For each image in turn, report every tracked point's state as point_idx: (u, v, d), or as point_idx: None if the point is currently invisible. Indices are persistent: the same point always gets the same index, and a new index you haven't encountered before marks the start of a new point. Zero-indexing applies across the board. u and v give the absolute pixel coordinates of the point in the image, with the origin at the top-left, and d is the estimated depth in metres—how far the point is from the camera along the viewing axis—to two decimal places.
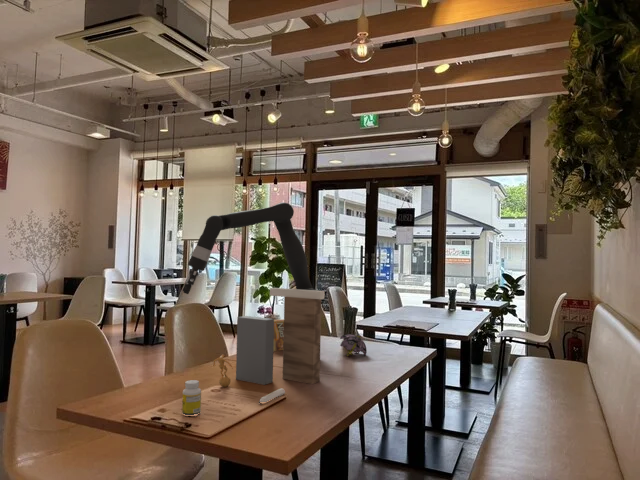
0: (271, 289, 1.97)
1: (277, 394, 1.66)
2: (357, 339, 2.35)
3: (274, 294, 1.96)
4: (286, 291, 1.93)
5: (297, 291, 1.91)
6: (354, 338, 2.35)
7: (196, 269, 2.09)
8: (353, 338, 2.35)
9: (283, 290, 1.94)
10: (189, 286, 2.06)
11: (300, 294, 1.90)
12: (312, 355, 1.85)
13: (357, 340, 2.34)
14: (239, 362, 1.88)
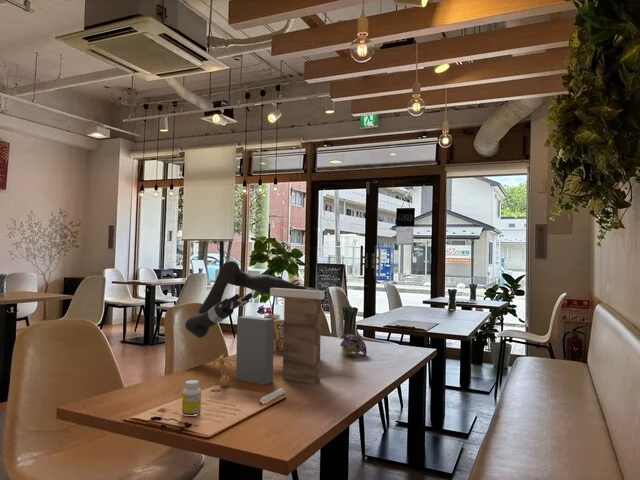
0: (271, 289, 1.97)
1: (277, 394, 1.65)
2: (357, 339, 2.35)
3: (274, 294, 1.96)
4: (286, 291, 1.93)
5: (297, 291, 1.91)
6: (354, 338, 2.35)
7: None
8: (353, 338, 2.35)
9: (283, 290, 1.94)
10: (231, 299, 2.07)
11: (300, 294, 1.90)
12: (312, 355, 1.85)
13: (357, 340, 2.34)
14: (239, 362, 1.88)
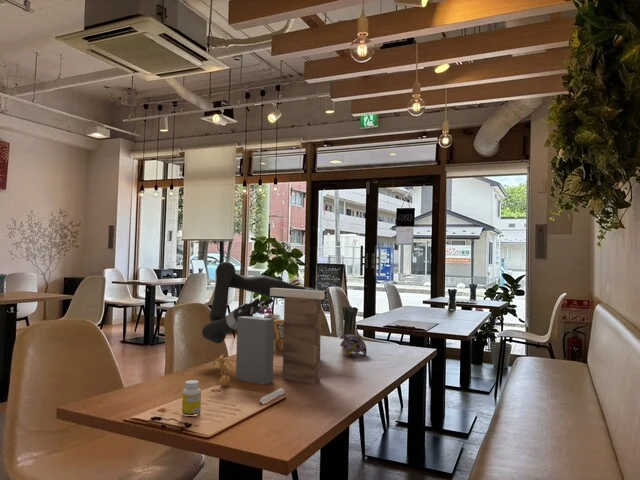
0: (271, 289, 1.97)
1: (277, 394, 1.65)
2: (357, 339, 2.35)
3: (274, 294, 1.96)
4: (286, 291, 1.93)
5: (297, 291, 1.91)
6: (354, 338, 2.35)
7: None
8: (353, 338, 2.35)
9: (283, 290, 1.94)
10: (251, 304, 1.97)
11: (300, 294, 1.90)
12: (312, 355, 1.85)
13: (357, 340, 2.34)
14: (239, 362, 1.88)
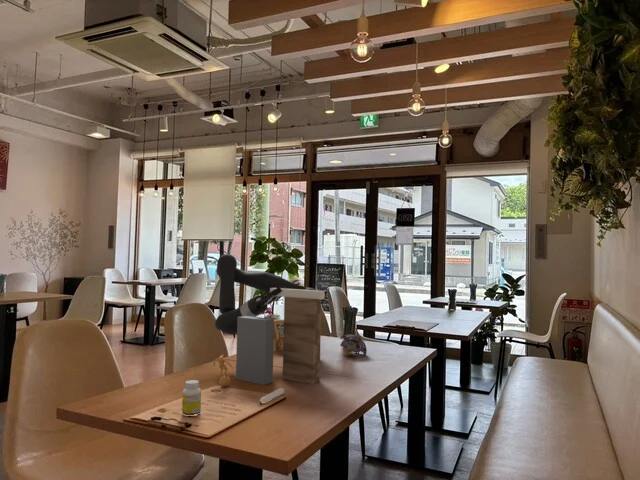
0: (271, 289, 1.97)
1: (277, 394, 1.66)
2: (357, 339, 2.35)
3: None
4: (286, 291, 1.93)
5: (297, 291, 1.91)
6: (354, 338, 2.35)
7: (256, 302, 1.98)
8: (353, 338, 2.35)
9: (283, 290, 1.94)
10: (273, 292, 1.95)
11: (300, 294, 1.90)
12: (312, 355, 1.85)
13: (357, 340, 2.34)
14: (239, 362, 1.88)
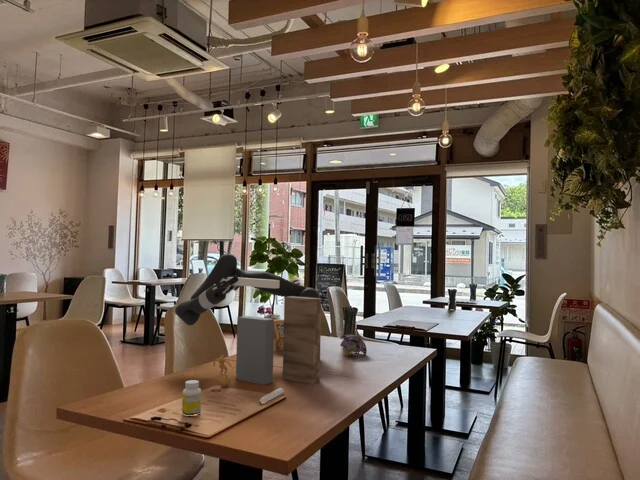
0: (228, 278, 1.96)
1: (276, 394, 1.66)
2: (357, 339, 2.35)
3: None
4: (242, 280, 1.92)
5: (253, 280, 1.89)
6: (354, 338, 2.35)
7: (213, 291, 1.97)
8: (353, 338, 2.35)
9: (239, 279, 1.93)
10: (229, 281, 1.94)
11: (256, 283, 1.88)
12: (312, 355, 1.85)
13: (357, 340, 2.34)
14: (239, 362, 1.88)
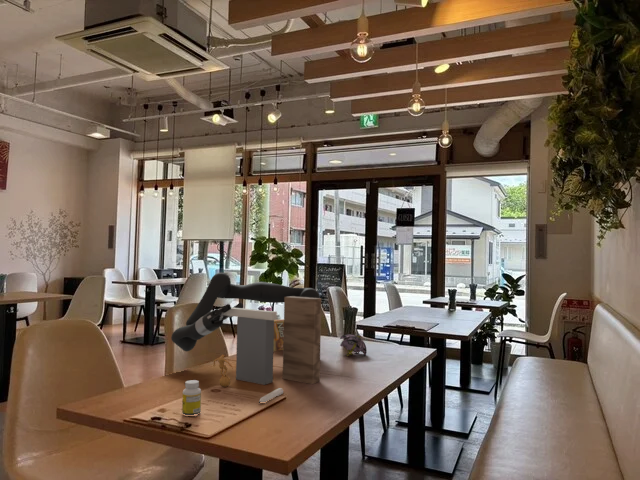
0: None
1: (276, 394, 1.66)
2: (357, 339, 2.35)
3: (228, 314, 1.94)
4: (239, 311, 1.91)
5: (249, 311, 1.88)
6: (354, 338, 2.35)
7: None
8: (353, 338, 2.35)
9: (236, 309, 1.91)
10: (222, 309, 1.91)
11: (252, 315, 1.87)
12: (312, 355, 1.85)
13: (357, 340, 2.34)
14: (239, 362, 1.88)
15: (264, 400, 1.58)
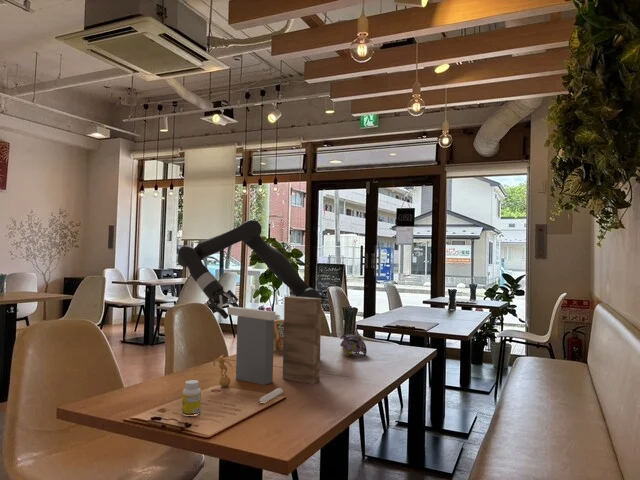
0: (228, 308, 1.97)
1: (276, 394, 1.66)
2: (357, 339, 2.35)
3: (231, 313, 1.96)
4: (241, 311, 1.92)
5: (250, 311, 1.89)
6: (354, 338, 2.35)
7: (211, 296, 2.00)
8: (353, 338, 2.35)
9: (238, 309, 1.93)
10: (220, 311, 1.97)
11: (253, 315, 1.88)
12: (312, 355, 1.85)
13: (357, 340, 2.34)
14: (239, 362, 1.88)
15: (264, 400, 1.58)
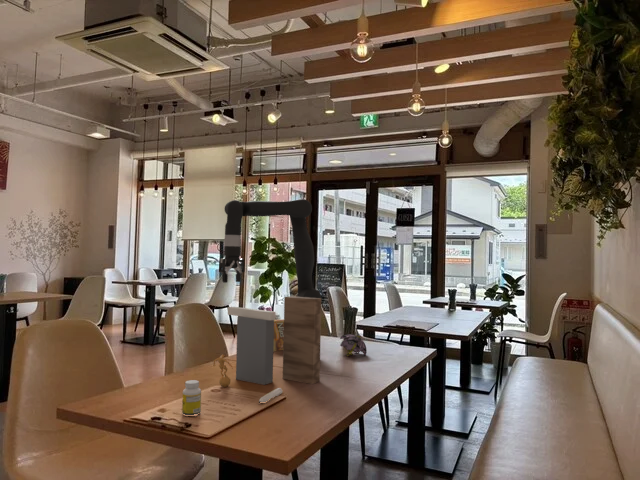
0: (228, 308, 1.97)
1: (275, 393, 1.66)
2: (357, 339, 2.35)
3: (231, 313, 1.96)
4: (241, 311, 1.92)
5: (250, 311, 1.89)
6: (354, 338, 2.35)
7: (227, 257, 2.12)
8: (353, 338, 2.35)
9: (238, 309, 1.93)
10: (224, 274, 2.10)
11: (253, 315, 1.88)
12: (312, 355, 1.85)
13: (357, 340, 2.34)
14: (239, 362, 1.88)
15: (264, 400, 1.58)
